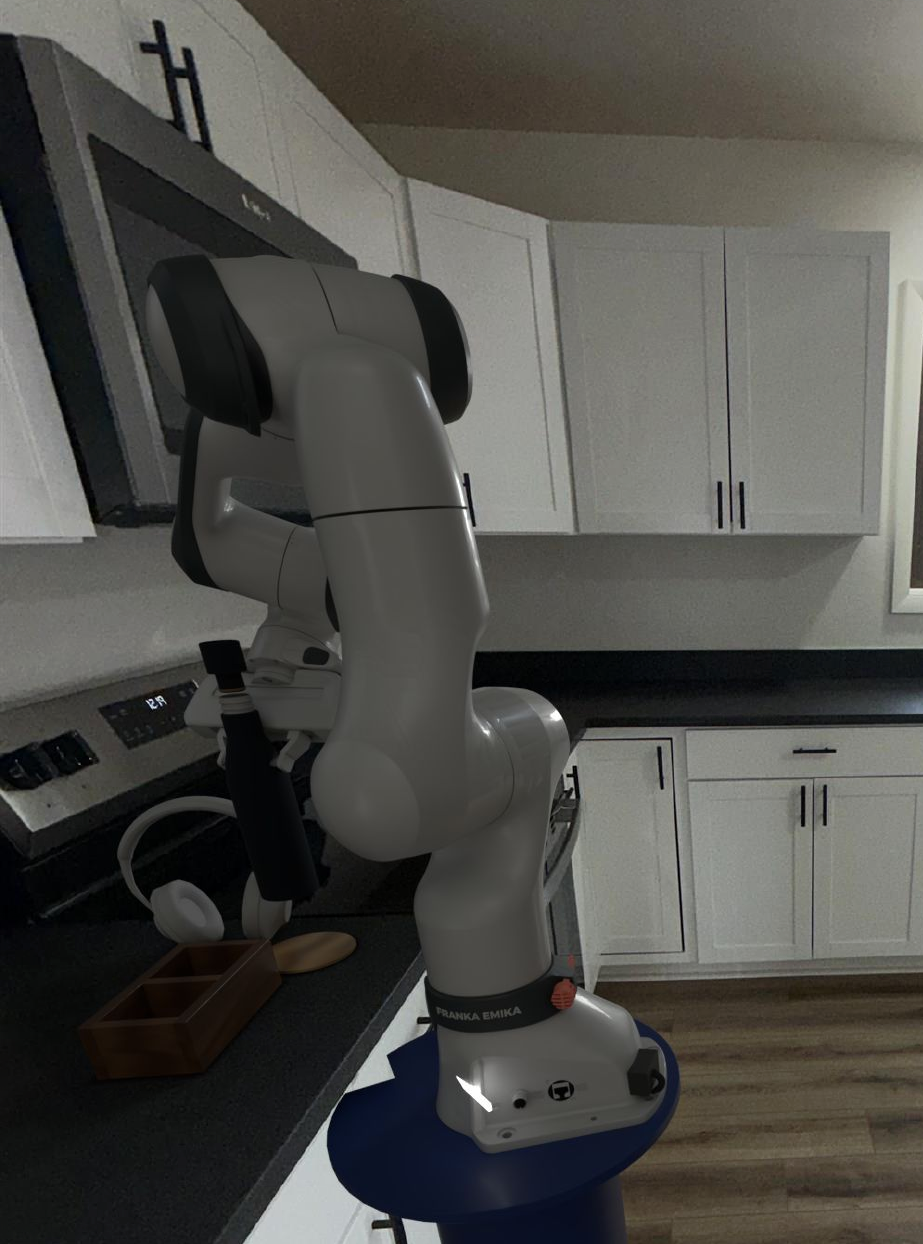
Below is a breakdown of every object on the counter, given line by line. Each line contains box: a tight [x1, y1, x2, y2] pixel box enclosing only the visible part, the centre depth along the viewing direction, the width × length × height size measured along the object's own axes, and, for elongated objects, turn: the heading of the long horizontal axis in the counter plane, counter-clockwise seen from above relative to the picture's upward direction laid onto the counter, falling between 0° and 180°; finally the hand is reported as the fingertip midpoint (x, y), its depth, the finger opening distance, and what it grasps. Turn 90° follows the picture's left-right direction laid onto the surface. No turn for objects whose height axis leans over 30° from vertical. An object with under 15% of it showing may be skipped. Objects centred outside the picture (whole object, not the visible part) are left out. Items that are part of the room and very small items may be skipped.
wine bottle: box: [198, 639, 320, 902], centre depth 100 cm, size 6×6×30 cm
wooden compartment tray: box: [76, 938, 283, 1081], centre depth 93 cm, size 10×19×6 cm, turn 7°
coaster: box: [272, 931, 357, 975], centre depth 110 cm, size 11×11×1 cm
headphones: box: [116, 795, 293, 944], centre depth 108 cm, size 19×9×20 cm, turn 108°
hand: (253, 768), depth 99 cm, fingers closed on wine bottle, 5 cm apart
